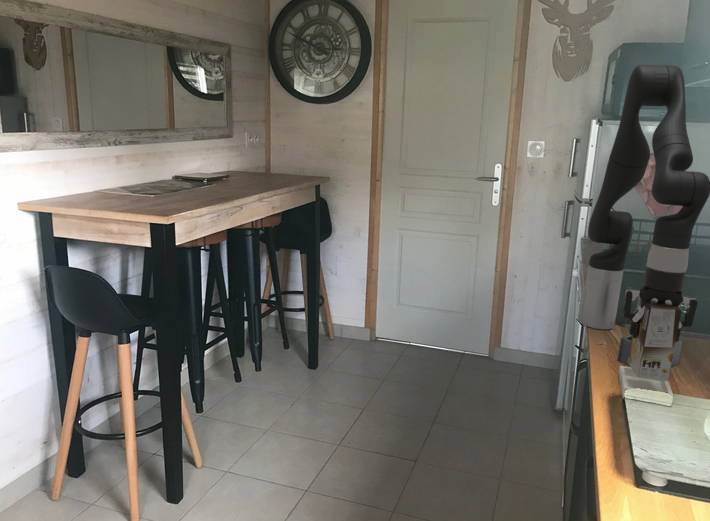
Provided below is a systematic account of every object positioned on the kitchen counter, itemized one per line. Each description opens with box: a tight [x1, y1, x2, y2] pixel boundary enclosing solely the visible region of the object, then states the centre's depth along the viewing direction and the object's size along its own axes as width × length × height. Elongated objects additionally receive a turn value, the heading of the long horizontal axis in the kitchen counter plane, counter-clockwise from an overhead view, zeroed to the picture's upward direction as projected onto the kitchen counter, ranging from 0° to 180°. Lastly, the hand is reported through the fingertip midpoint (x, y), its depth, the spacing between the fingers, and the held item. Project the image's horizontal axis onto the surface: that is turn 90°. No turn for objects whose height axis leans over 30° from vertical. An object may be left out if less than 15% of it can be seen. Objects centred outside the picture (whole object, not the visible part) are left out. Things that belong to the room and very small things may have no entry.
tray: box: [618, 365, 674, 399], centre depth 134 cm, size 13×10×2 cm
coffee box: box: [628, 296, 683, 382], centre depth 131 cm, size 9×6×16 cm
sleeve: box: [616, 334, 685, 368], centre depth 149 cm, size 10×13×6 cm
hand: (652, 339), depth 131 cm, fingers closed on coffee box, 7 cm apart
